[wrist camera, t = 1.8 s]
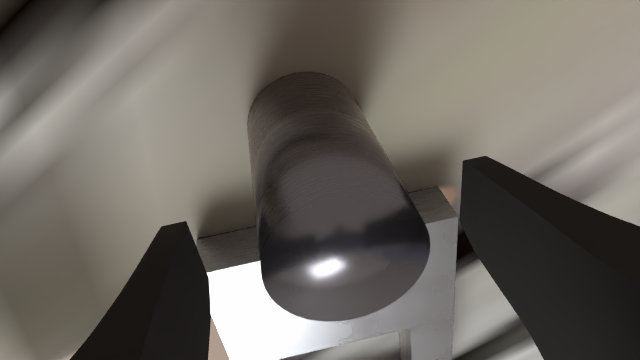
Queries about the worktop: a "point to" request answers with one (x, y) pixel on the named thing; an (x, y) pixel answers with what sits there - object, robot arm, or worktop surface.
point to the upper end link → (308, 335)
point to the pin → (329, 204)
